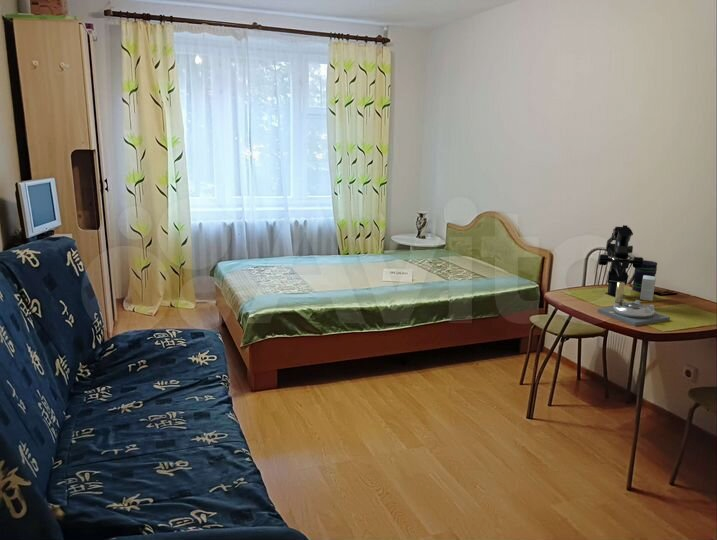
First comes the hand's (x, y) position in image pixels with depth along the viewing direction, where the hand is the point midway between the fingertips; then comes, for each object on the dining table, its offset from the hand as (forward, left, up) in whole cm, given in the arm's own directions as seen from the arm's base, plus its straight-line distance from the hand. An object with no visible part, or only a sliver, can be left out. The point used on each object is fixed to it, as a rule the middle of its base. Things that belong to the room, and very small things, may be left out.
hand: (619, 276), depth 245 cm
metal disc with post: (+17, -8, -12) cm, 22 cm away
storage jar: (-13, +32, -14) cm, 37 cm away
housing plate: (+16, -8, -14) cm, 23 cm away
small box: (-2, +22, -14) cm, 26 cm away
